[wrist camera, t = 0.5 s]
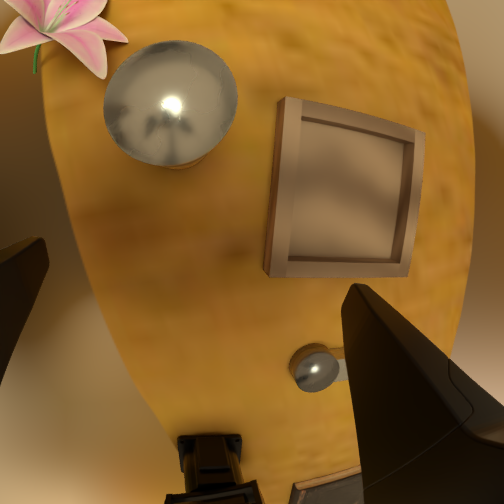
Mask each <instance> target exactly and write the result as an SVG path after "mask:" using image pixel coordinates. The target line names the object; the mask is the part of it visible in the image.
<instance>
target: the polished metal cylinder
mask: <svg viewBox="0 0 504 504" xmlns="http://www.w3.org/2000/svg"><path fill="white" fill-rule="evenodd" d="M237 98H238V95H237V87H236V83H235V79H234V77H233V75H232V72H231V71H230V69H229V68H228V66H227V65H226V63H225V62H224V61H223V60H222V59H221V58H220V57H219V56H218V55H217V54H216V53H214V52H213V51H211V50H210V49H208V48H206V47H204V46H202V45H199V44H196V43H192V42H188V41H179V40H175V41H164V42H159V43H155V44H152V45H149V46H147V47H144V48H142V49H141V50H139V51H137V52H135V53H134V54H133V55H131V56H130V57H129V58H127V59H126V60H125V61H124V62H123V63H122V64H121V65H120V66H119V68H118V69H117V70H116V72H115V73H114V75H113V76H112V78H111V80H110V82H109V84H108V87H107V90H106V93H105V98H104V107H103V109H104V119H105V123H106V126H107V129H108V132H109V133H110V135H111V137H112V139H113V140H114V142H115V143H116V144H117V145H118V146H119V147H120V148H121V149H122V150H123V151H124V152H125V153H127V154H128V155H129V156H131V157H133V158H135V159H137V160H139V161H142V162H144V163H148V164H152V165H157V166H162V167H166V168H169V169H175V170H181V169H186V168H189V167H192V166H194V165H196V164H197V163H199V162H200V161H201V160H202V159H203V158H204V157H205V156H206V155H207V153H208V152H209V151H210V150H212V149H213V148H214V147H215V146H216V145H217V144H218V143H219V142H220V141H221V139H222V138H223V137H224V136H225V135H226V133H227V131H228V130H229V128H230V126H231V124H232V122H233V120H234V117H235V113H236V109H237Z"/></svg>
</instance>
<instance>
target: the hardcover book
mask: <svg viewBox="0 0 504 504" xmlns="http://www.w3.org/2000/svg"><path fill="white" fill-rule="evenodd" d="M363 490H364V489H363V483H362V474H361V465H359V466H356V467H353V468H350V469H347V470H344V471H341V472H337V473H334V474H330V475H327V476H323V477H319V478H316V479H312V480H308V481H303V482H299V483H293V488H292V492H291V496H290V500H289V504H364V496H363Z"/></svg>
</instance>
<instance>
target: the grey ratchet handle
mask: <svg viewBox="0 0 504 504" xmlns="http://www.w3.org/2000/svg"><path fill="white" fill-rule="evenodd" d="M289 369H290V372H291V374H292V376H293V378H294V380H295V381H296V383H297V385H298V387H299V388H300V389H301V390H303V391H305V392H318V391H321V390H323V389H325V388H327V387H328V386H330V385H331V384H332V383H333V382H337V381H343V380H348V374H347V369H346V363H345V355H344V347H342V348H333V349H328V348H327V347H326V346H324V345H322V344H318V343H313V344H308V345H305V346H303V347H302V348H300V349H299V350H297V351H296V352H295V353H294V355H293V356H292V358H291V360H290V363H289Z"/></svg>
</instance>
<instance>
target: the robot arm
mask: <svg viewBox="0 0 504 504" xmlns="http://www.w3.org/2000/svg"><path fill="white" fill-rule="evenodd" d="M48 268H49V257H48V253H47V248H46V243H45V240H44V239H43V238H42V237H36V236H31V237H29V238H26V239H24V240H22V241H19V242H17V243H15V244H12V245H11V246H8V247H6V248H3V249H1V250H0V385H1V382H2V379H3V376H4V374H5V371H6V368H7V366H8V363H9V361H10V358H11V356H12V353H13V351H14V348H15V346H16V343H17V341H18V339H19V336H20V334H21V332H22V330H23V328H24V325H25V323H26V321H27V319H28V317H29V315H30V312H31V310H32V308H33V305H34V303H35V300H36V298H37V295H38V293H39V290H40V287H41V285H42V283H43V280H44V278H45V276H46V273H47V271H48ZM341 318H342V330H343V343H344V355H345V363H346V369H347V374H348V380H349V386H350V392H351V398H352V405H353V411H354V418H355V425H356V432H357V440H358V448H359V456H360V464H361V474H362V483H363V489H364V490H363V496H364V504H504V406H503V405H502V404H501V403H499V402H498V401H497V400H496V399H495V398H493V397H492V396H491V395H490V394H489V393H488V392H486V391H485V390H484V389H483V388H482V387H480V386H479V385H478V384H477V383H476V382H475V381H473V380H472V379H471V378H470V377H469V376H468V375H467V374H466V373H465V372H464V371H462V370H461V369H460V368H459V367H458V366H457V365H456V364H455V363H454V362H453V361H452V360H451V359H448V357H447V356H446V355H445V354H444V353H443V352H442V351H441V350H440V349H439V348H438V347H437V346H436V345H434V344H433V343H432V342H431V341H430V340H429V339H428V338H427V337H426V336H425V335H423V334H422V333H421V332H420V331H419V330H418V329H417V328H416V327H415V326H413V325H412V324H411V323H410V322H409V321H408V320H407V319H406V318H404V317H403V316H402V315H401V314H400V313H399V312H398V311H396V310H395V309H394V308H393V307H392V306H391V305H390V304H388V303H387V302H386V301H385V300H384V299H383V298H382V297H380V296H379V295H378V294H377V293H376V292H375V291H373V290H372V289H371V288H370V287H369V286H368V285H366V284H359V283H354V284H352V285H351V286H350V288H349V291H348V293H347V295H346V297H345V300H344V302H343V304H342V307H341ZM177 443H178V451H179V459H180V467H181V472H183V473H184V478H185V490H186V493H182V494H167V495H166V499H165V502H164V504H265V502H264V499H263V496H262V494H261V491H260V489H259V486H258V484H257V481H256V480H252V481H251V482H247V483H244V481H243V477H242V473H241V469H240V456H241V447H242V437H241V436H240V435H222V436H180V437H178V438H177Z"/></svg>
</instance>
